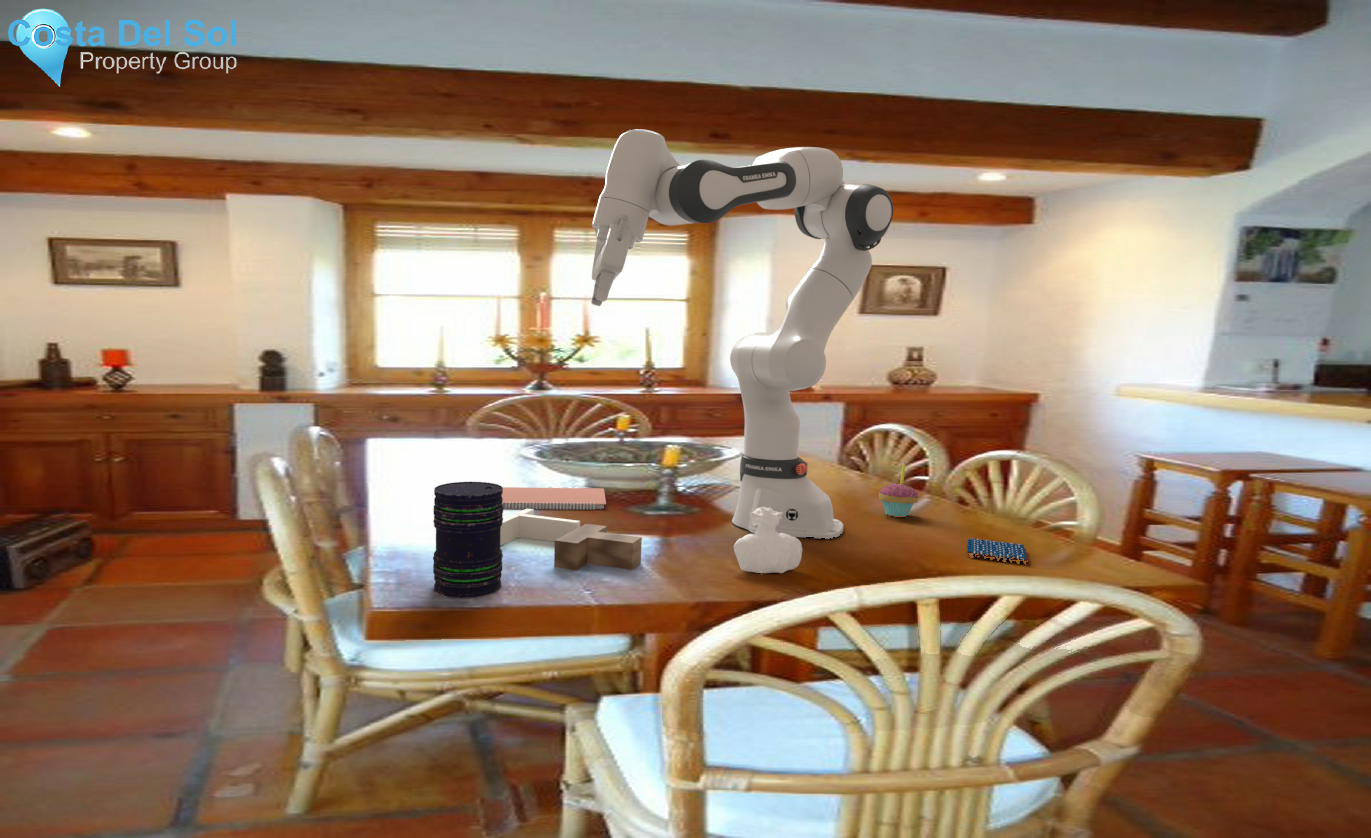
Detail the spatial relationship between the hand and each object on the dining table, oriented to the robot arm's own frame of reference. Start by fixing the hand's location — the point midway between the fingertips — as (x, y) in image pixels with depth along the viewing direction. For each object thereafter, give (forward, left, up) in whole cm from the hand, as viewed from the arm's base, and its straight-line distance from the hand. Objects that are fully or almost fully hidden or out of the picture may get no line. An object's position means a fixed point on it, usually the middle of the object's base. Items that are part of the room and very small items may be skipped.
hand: (598, 302), depth 134 cm
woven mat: (-69, -29, -44) cm, 87 cm away
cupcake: (-50, -53, -43) cm, 85 cm away
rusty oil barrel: (+8, +26, -43) cm, 51 cm away
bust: (-31, -2, -43) cm, 53 cm away
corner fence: (+10, +6, -43) cm, 45 cm away
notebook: (+25, -30, -44) cm, 59 cm away
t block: (-5, +6, -43) cm, 44 cm away
